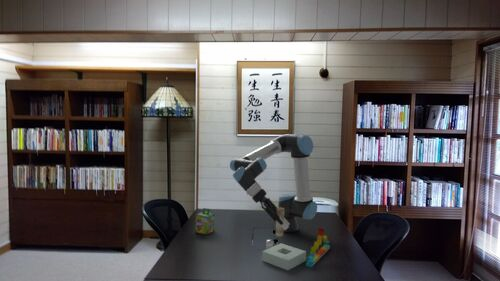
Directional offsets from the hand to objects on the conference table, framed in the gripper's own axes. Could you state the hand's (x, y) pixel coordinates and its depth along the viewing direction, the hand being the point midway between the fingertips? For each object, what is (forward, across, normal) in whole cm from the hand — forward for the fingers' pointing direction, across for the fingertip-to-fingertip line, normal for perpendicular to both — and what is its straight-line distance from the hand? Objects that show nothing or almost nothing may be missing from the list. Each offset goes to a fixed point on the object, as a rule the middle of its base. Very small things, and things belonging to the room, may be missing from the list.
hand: (287, 227), depth 171 cm
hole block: (+12, 0, -14) cm, 18 cm away
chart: (+25, -11, -2) cm, 27 cm away
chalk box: (-26, -31, -52) cm, 66 cm away
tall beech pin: (+1, 0, -6) cm, 6 cm away
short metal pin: (+5, -14, -20) cm, 25 cm away
